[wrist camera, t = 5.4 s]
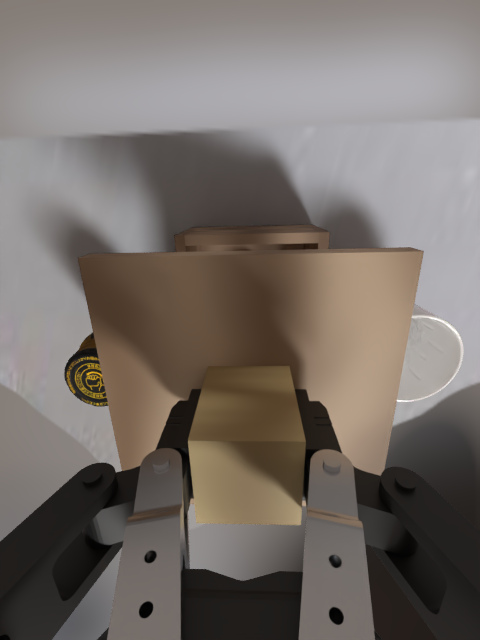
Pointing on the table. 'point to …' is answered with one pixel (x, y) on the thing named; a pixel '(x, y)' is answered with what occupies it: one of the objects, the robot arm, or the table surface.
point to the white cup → (429, 356)
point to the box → (252, 238)
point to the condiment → (86, 374)
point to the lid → (252, 361)
